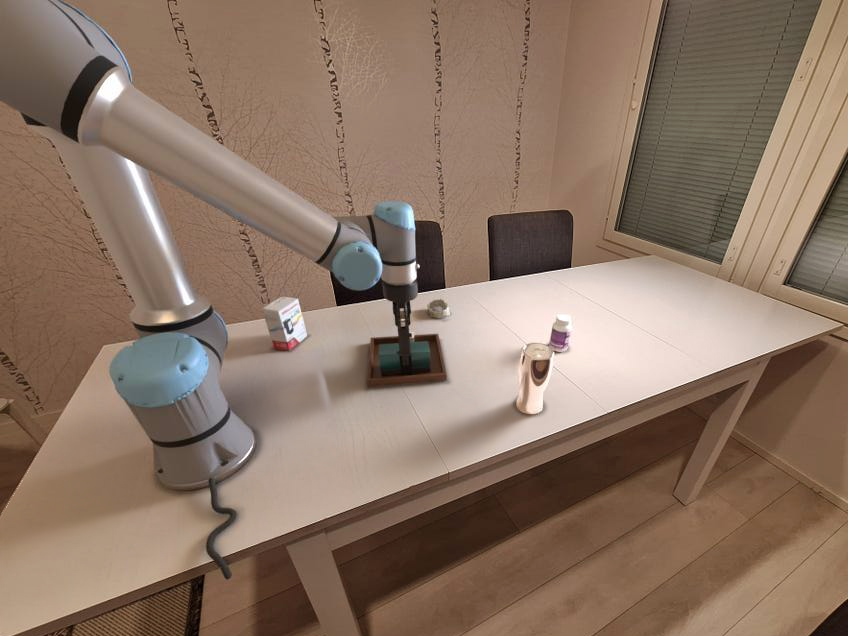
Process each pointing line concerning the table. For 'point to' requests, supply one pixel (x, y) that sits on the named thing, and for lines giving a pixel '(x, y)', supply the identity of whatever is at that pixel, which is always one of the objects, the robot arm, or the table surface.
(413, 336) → the cream white cube
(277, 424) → the table surface
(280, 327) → the ink box
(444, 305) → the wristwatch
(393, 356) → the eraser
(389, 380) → the tray
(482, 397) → the table surface
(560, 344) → the pill bottle
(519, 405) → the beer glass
